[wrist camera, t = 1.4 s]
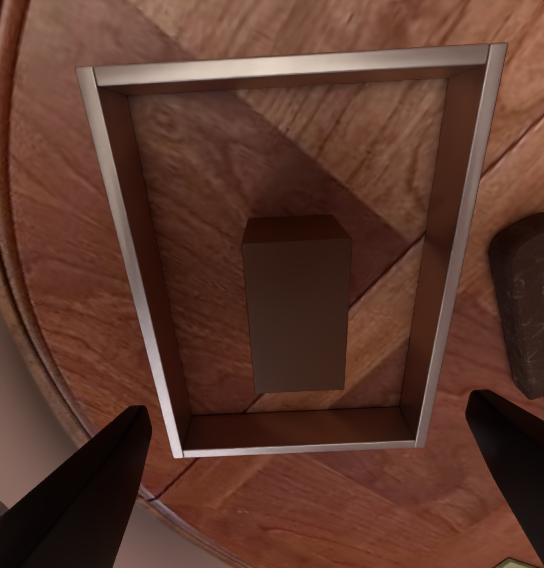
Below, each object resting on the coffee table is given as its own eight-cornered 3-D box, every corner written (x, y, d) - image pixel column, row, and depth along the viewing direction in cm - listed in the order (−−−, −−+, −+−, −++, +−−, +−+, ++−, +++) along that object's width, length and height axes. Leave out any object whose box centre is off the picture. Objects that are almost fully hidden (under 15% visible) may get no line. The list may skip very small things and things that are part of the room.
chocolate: (329, 339, 18) (344, 390, 14) (257, 342, 18) (255, 394, 14) (332, 214, 15) (352, 238, 11) (247, 218, 15) (241, 243, 12)
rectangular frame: (407, 413, 20) (425, 447, 18) (183, 423, 20) (173, 458, 18) (466, 59, 13) (509, 41, 10) (108, 79, 13) (73, 66, 11)
